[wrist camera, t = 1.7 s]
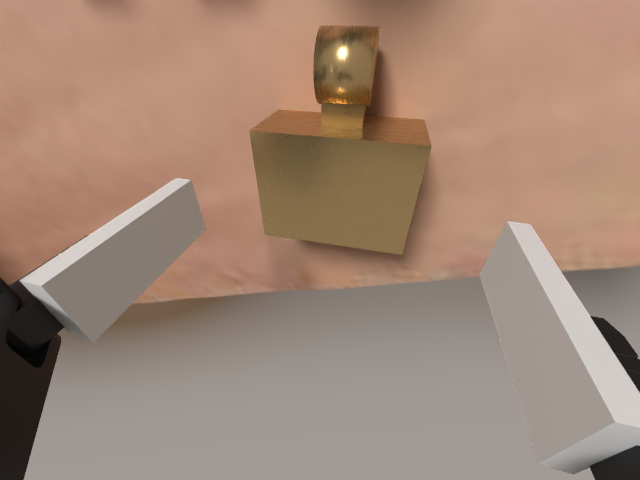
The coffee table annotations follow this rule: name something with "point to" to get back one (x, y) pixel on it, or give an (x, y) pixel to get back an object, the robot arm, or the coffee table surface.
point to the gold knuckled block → (341, 155)
